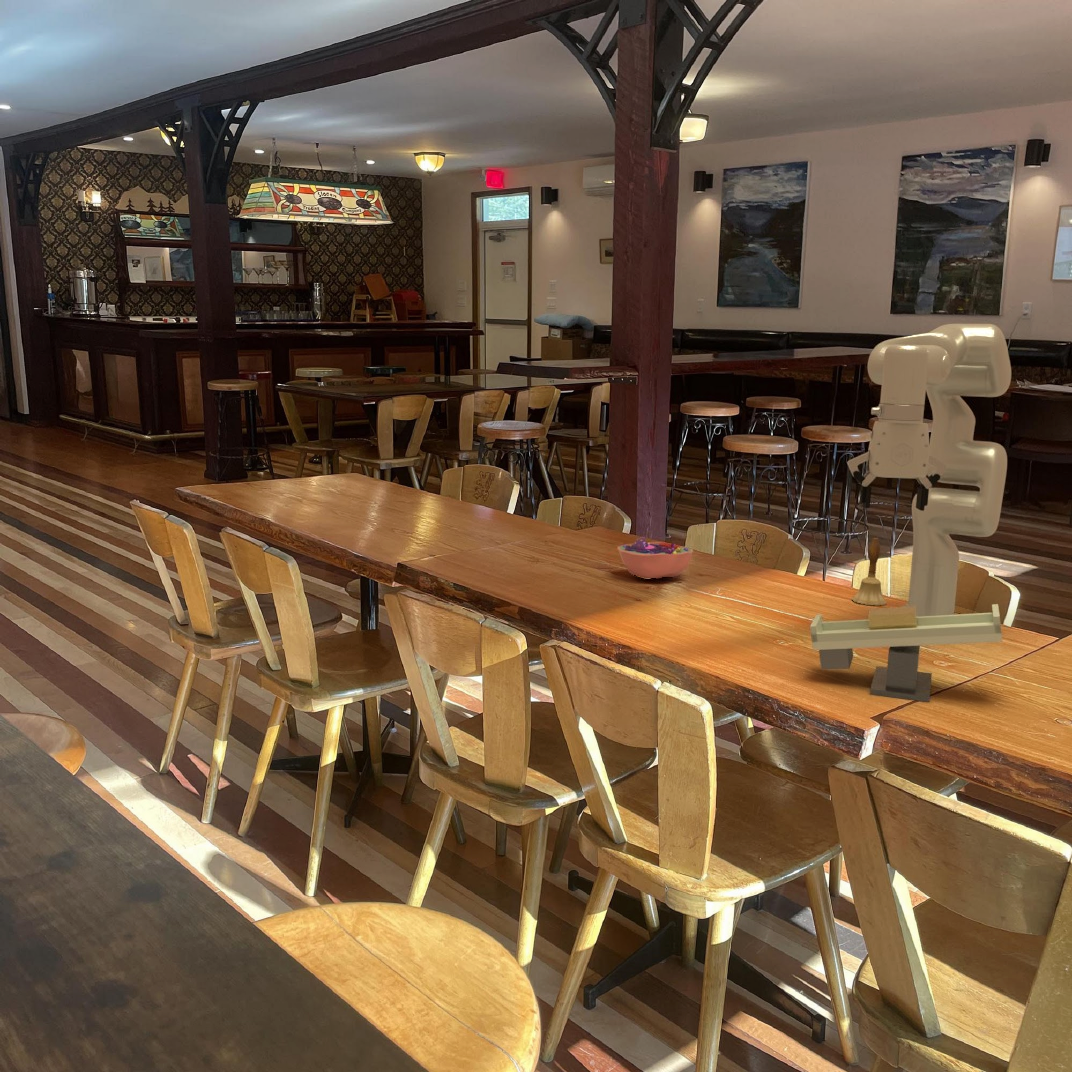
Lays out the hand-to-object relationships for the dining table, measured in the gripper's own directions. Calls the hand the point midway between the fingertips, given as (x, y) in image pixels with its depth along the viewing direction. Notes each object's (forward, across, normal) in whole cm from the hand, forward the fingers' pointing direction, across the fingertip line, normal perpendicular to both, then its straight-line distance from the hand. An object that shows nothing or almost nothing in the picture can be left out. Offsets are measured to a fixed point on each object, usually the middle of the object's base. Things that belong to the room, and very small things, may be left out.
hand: (892, 508), depth 184 cm
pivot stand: (+33, +4, -3) cm, 33 cm away
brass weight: (+22, +1, -3) cm, 23 cm away
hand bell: (+31, +11, +59) cm, 68 cm away
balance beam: (+28, +4, -4) cm, 28 cm away
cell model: (+31, -41, +76) cm, 92 cm away
